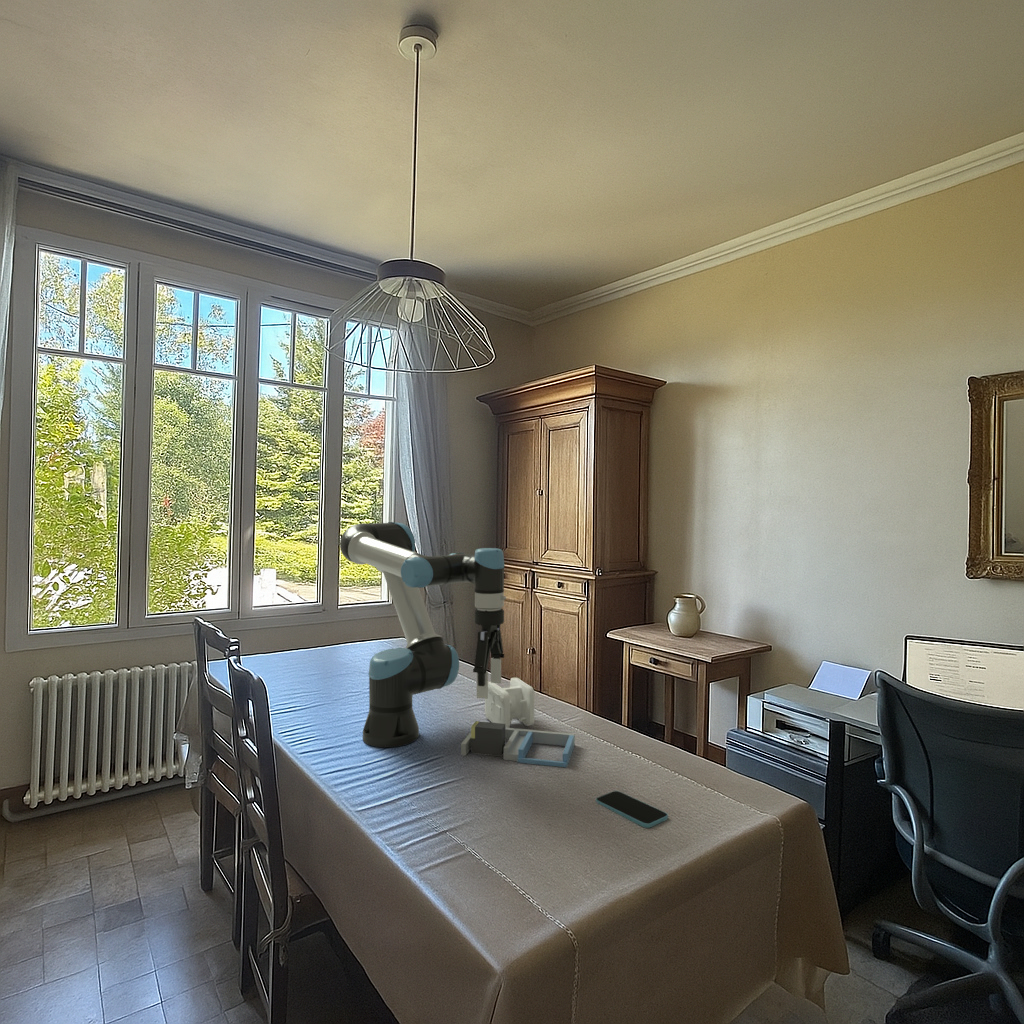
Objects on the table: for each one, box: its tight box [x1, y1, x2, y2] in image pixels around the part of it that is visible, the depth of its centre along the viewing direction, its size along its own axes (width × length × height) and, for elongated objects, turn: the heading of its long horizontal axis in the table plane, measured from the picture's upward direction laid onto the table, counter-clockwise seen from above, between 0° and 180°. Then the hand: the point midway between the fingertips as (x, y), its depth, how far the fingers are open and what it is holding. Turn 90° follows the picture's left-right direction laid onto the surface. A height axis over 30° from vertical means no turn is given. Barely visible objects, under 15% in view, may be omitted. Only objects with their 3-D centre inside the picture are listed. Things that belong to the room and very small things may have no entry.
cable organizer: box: [484, 676, 536, 728], centre depth 188 cm, size 15×11×12 cm
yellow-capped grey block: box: [470, 720, 506, 757], centre depth 168 cm, size 8×4×7 cm, turn 77°
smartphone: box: [595, 790, 669, 829], centre depth 138 cm, size 7×1×15 cm
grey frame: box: [460, 727, 576, 768], centre depth 169 cm, size 27×14×3 cm, turn 77°
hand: (489, 690), depth 167 cm, fingers open, 13 cm apart
